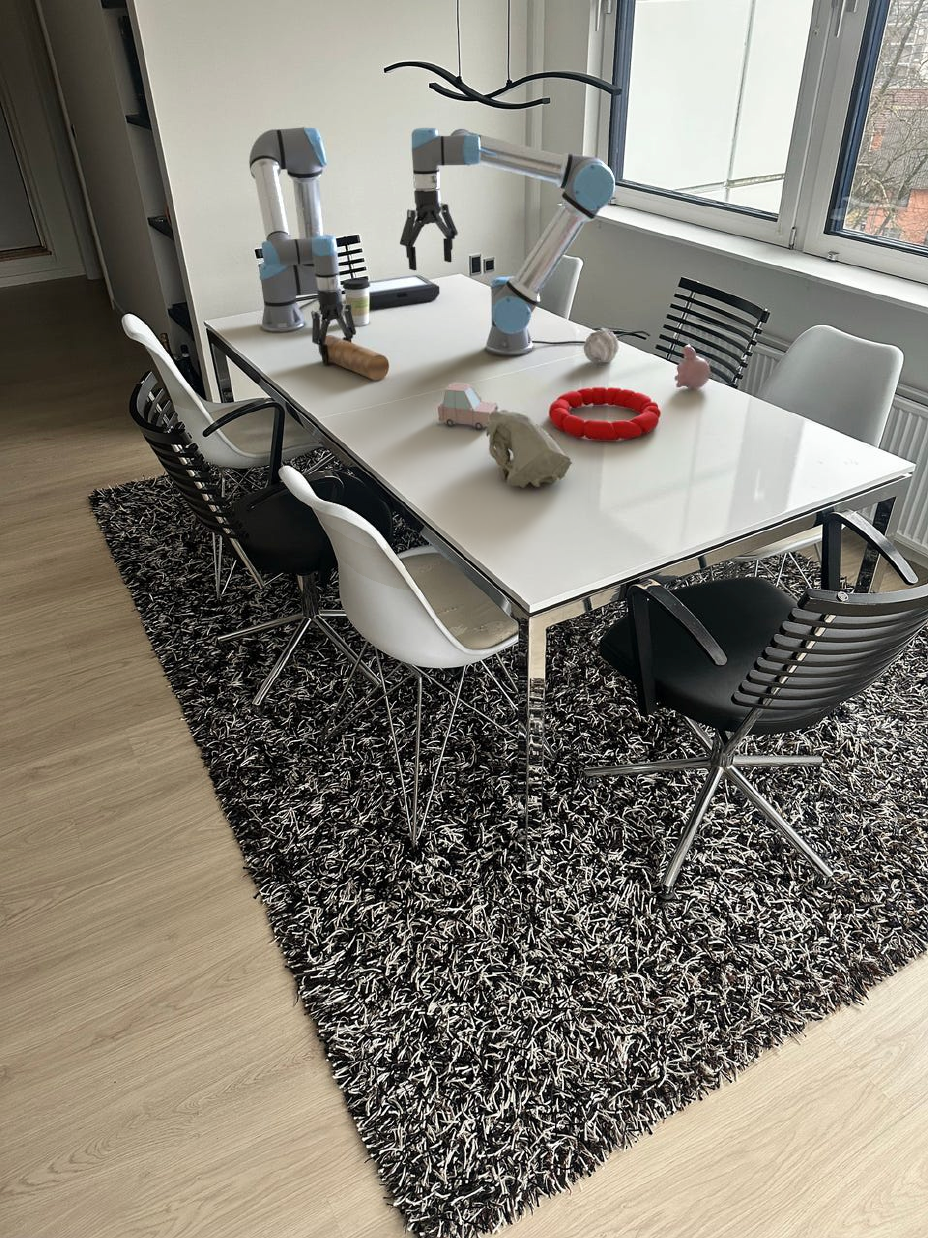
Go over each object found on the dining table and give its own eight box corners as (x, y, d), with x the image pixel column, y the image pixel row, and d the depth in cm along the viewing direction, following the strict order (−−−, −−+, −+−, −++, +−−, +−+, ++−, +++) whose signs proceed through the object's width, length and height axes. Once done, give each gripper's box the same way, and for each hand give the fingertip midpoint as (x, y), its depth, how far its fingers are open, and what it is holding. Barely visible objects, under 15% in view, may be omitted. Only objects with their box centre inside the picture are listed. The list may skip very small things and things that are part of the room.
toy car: (488, 432, 240) (488, 396, 234) (436, 426, 244) (434, 390, 239) (499, 419, 247) (499, 384, 241) (448, 413, 252) (447, 379, 246)
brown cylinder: (320, 362, 292) (317, 337, 288) (340, 356, 297) (337, 332, 292) (369, 383, 274) (366, 357, 270) (390, 377, 279) (388, 351, 274)
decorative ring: (589, 435, 224) (684, 402, 234) (527, 398, 247) (617, 369, 256) (589, 461, 229) (683, 427, 238) (529, 422, 251) (617, 393, 260)
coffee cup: (372, 326, 323) (368, 283, 314) (345, 327, 323) (340, 284, 315) (374, 318, 331) (371, 276, 322) (348, 319, 331) (344, 277, 323)
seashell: (573, 361, 285) (574, 329, 280) (611, 352, 291) (613, 322, 285) (592, 370, 278) (593, 338, 272) (630, 361, 284) (632, 330, 278)
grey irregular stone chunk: (496, 517, 219) (521, 479, 201) (463, 429, 225) (484, 384, 207) (557, 503, 225) (586, 465, 206) (523, 417, 231) (549, 373, 212)
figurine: (665, 387, 264) (669, 347, 257) (693, 380, 268) (698, 340, 261) (686, 396, 257) (690, 355, 250) (714, 388, 262) (720, 348, 255)
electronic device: (361, 295, 335) (344, 283, 350) (362, 312, 338) (346, 299, 353) (439, 284, 345) (420, 273, 360) (439, 300, 349) (421, 289, 364)
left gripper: (307, 297, 271) (316, 371, 284) (363, 284, 282) (369, 356, 295) (294, 293, 276) (303, 365, 289) (350, 280, 286) (356, 351, 299)
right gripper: (400, 195, 249) (405, 274, 261) (468, 184, 262) (469, 260, 274) (384, 192, 254) (390, 270, 266) (451, 181, 267) (454, 256, 279)
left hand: (337, 360), depth 292 cm, fingers closed on brown cylinder, 8 cm apart
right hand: (430, 265), depth 270 cm, fingers open, 13 cm apart
